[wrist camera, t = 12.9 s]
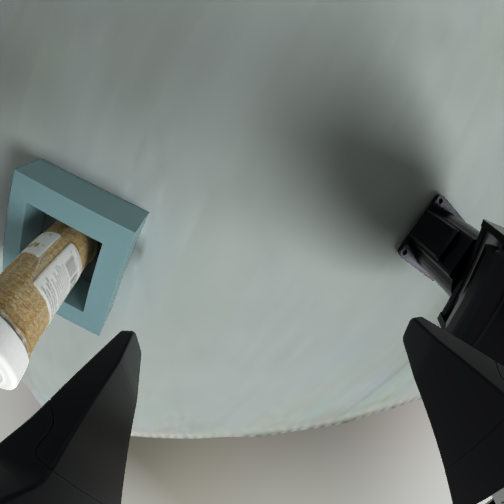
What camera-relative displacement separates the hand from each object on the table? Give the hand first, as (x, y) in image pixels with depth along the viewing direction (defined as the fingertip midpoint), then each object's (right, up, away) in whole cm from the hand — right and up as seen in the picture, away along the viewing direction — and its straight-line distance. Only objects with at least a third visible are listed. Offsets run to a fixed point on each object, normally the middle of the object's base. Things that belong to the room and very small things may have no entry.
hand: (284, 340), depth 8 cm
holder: (-15, +4, +11) cm, 19 cm away
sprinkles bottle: (-15, +4, +12) cm, 19 cm away
